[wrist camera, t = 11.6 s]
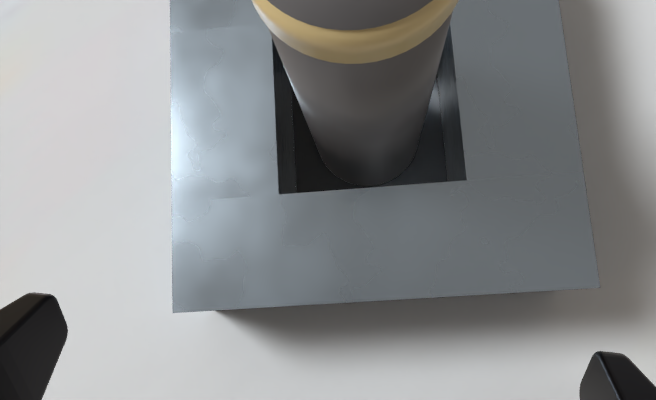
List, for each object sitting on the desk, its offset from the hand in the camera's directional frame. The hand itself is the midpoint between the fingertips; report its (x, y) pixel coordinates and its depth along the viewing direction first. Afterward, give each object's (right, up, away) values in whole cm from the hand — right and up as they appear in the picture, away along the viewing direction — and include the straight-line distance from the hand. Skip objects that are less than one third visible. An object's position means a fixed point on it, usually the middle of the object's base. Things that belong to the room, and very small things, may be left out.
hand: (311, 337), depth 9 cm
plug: (+2, +5, +14) cm, 15 cm away
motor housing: (+2, +7, +15) cm, 17 cm away
